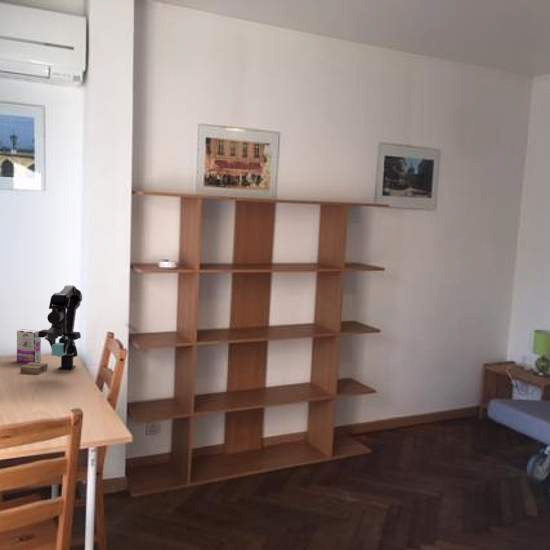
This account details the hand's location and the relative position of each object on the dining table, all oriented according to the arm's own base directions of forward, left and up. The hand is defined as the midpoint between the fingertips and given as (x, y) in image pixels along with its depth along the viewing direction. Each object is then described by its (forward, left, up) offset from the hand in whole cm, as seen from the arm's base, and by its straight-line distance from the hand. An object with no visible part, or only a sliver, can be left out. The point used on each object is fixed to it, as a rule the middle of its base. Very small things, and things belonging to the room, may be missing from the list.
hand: (59, 352), depth 285 cm
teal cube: (0, 0, -1) cm, 1 cm away
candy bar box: (-20, -26, -12) cm, 35 cm away
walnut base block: (-5, -15, -12) cm, 20 cm away
